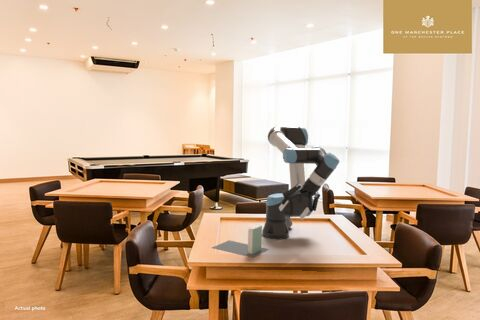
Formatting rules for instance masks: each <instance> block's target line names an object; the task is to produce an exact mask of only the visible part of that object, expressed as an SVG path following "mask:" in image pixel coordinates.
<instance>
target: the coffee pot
mask: <svg viewBox="0 0 480 320" xmlns="http://www.w3.org/2000/svg"><path fill="white" fill-rule="evenodd" d="M260 205H261V206H263V207H265V208H266V204H264V203H262V202H259V204H258V206H260ZM286 223H287V227H288V230H289V229H290V228H291V227H292V226H293V221H292V217H287V219H286Z"/></svg>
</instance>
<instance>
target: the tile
mask: <svg viewBox="0 0 480 320" xmlns="http://www.w3.org/2000/svg"><path fill="white" fill-rule="evenodd" d="M262 230H263V226H262V225H258V224H256V225H253V226H251V227H248V230H247V244H248V253H249V254H255V253H257V252H258V251H260V250H261V247H262V239H263V238H262V237H263V235H262Z"/></svg>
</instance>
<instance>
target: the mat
mask: <svg viewBox="0 0 480 320" xmlns="http://www.w3.org/2000/svg"><path fill="white" fill-rule="evenodd" d="M211 249H214V250H215V249H216V250H218V251H221V252H222V251H223V252H226V253H227V252H228V253H232V254H236V255H240V256H244V257H249V258H252V259H254V258H257V257H258V256H260V255H262V254H264V253H265V252H267V251H269V250H270V248H266V247H263V246H261V250H260V251H258V252H257V253H255V254H249V253H248V243H244V242H239V241H234V240H227V241H224V242H222V243H219V244H217V245H214V246H212V247H211Z"/></svg>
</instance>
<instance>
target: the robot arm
mask: <svg viewBox="0 0 480 320" xmlns="http://www.w3.org/2000/svg"><path fill="white" fill-rule="evenodd" d="M267 140H268V143H270V145H271V146H273V147H276V148H277V149H278V150H279V151H280V152H281V154H282V159H283V162H284V163H286V164H288V166H289V181H290V183H289V184H290V189H289V190H286V191H285V192H283V193H273V194H269V195H268V196H267V197H266V203H265V205H266V207H265V222H264V226H263V227H262V237H265V238H268V239H279V240H280V239H287V238H289V236H290V231H289V229H288V227H287V223H286V219H287V217H290V218H300V220H301V221H303V220H304V219H305V218H306V217H310V216H311V214H312V213H313V212H315V211H317V207H318V203H319V199H320V197H321V194H320V193H319V190H320V189H321V188H322V186H323V185H324V184H325V182H326V181H327V179H328V178H329V177H330V176H331V175H332V173H334V171H335V169H336V168H337V166H338V165H339V164H340V159H339V158H338V157H337V156H336V155H335V154H333V153H331V152H326V150H325V149H324V148H322V146H320V145H314V146H312V147H311V148H306V146H307V145H308V141H309V134H308V131H307V128H305V127H304V126H301V125H276V126H274V127H272V128H271V129H270V130H269V132H268V134H267ZM305 164H312V165H313V164H314V165H315V166H316V167H315V168H314V170H313V171H312V172H311V173H310V175H309V177H308V178H307V179H306V175H305V173H306V172H305Z"/></svg>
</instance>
